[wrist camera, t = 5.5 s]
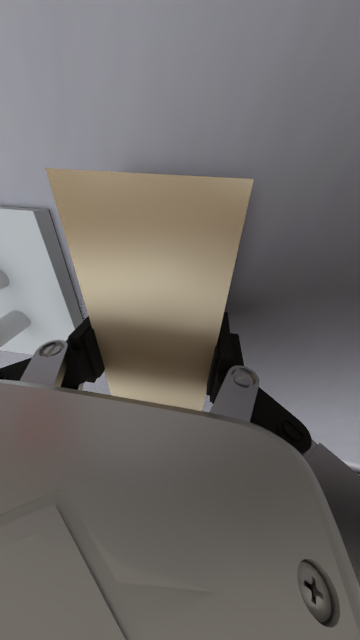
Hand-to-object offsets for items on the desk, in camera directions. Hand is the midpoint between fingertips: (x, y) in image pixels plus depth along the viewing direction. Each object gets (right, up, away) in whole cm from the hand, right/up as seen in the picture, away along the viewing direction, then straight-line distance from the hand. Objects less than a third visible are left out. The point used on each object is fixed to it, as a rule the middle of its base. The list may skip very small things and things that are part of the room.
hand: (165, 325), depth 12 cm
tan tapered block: (0, +1, +1) cm, 1 cm away
